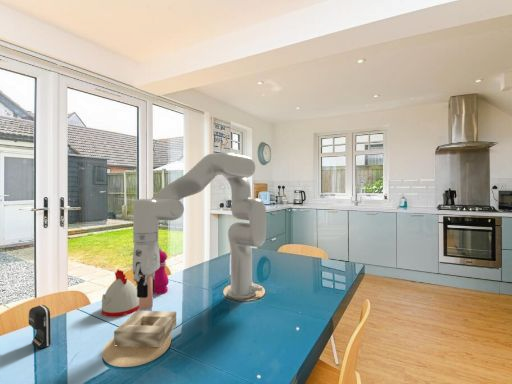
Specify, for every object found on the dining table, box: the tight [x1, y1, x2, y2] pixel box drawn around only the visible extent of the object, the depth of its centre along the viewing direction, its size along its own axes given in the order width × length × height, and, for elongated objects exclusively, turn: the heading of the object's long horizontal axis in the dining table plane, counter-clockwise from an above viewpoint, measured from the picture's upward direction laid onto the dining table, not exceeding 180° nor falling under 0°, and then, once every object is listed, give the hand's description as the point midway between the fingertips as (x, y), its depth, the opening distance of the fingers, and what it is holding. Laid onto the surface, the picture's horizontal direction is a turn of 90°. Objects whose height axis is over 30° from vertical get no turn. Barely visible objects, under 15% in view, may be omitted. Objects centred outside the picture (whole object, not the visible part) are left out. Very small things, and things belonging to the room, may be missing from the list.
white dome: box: [101, 269, 140, 318], centre depth 110 cm, size 14×14×15 cm
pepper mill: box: [153, 247, 169, 295], centre depth 128 cm, size 7×7×20 cm
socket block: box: [113, 310, 177, 348], centre depth 91 cm, size 14×14×4 cm
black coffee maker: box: [28, 304, 52, 349], centre depth 85 cm, size 7×4×11 cm, turn 54°
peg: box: [138, 273, 154, 311], centre depth 91 cm, size 4×4×12 cm
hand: (145, 293), depth 91 cm, fingers closed on peg, 4 cm apart
